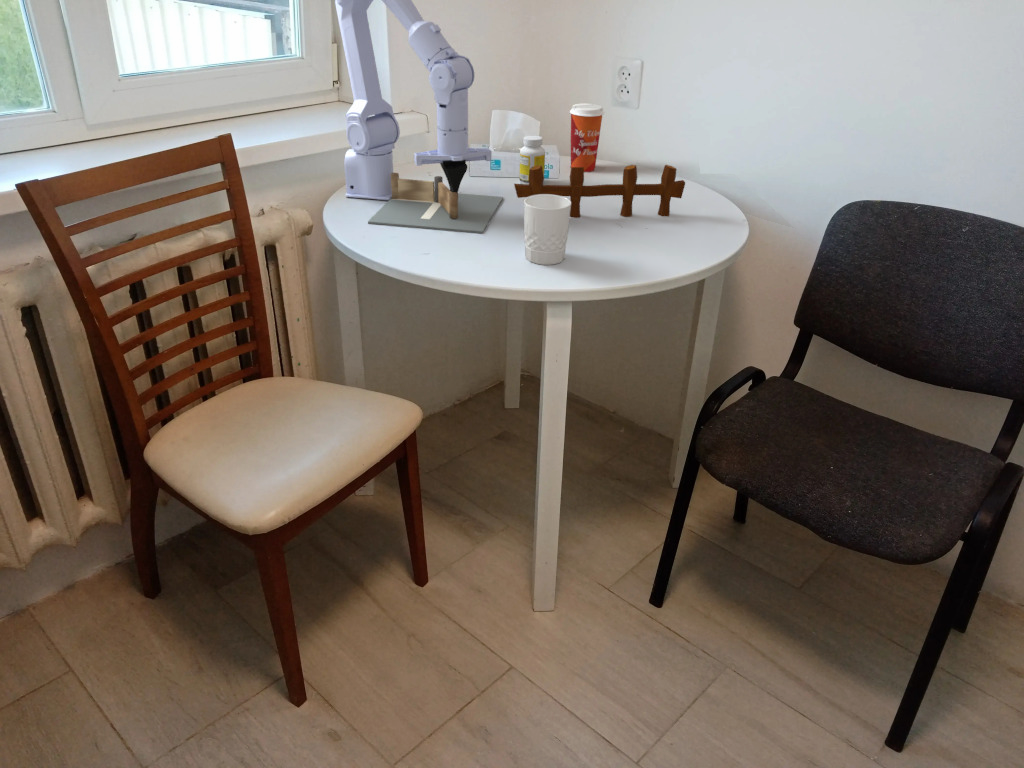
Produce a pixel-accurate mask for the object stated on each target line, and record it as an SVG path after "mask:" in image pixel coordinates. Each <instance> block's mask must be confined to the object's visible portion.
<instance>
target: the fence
mask: <svg viewBox="0 0 1024 768" xmlns="http://www.w3.org/2000/svg"><path fill="white" fill-rule="evenodd" d="M637 168H638V167H637V165H635V164H630V165H627V166H625V167H624V169H623V173H622V183H621V184H620V183H616V184H612V183H610V184H608V183H607V184H595V185H584V182H585V172H584V167H571V166H570V174H569V184H564V185H563V184H544V183H543V180H544V181H545V175H544V176H543V169H542V166H539V165H537V166H534V167H531V168H530V169H529V185H528V184H521V183H513V186H514V189H515V193H516V197H517V198H518V199H520V198H521V199H522V198H527V197H529V196H532V195H539V194H551V195H558V196H562V197H569V198H570V199H569V200H570V201H571V211H570V218H574V219H577V218H580V217H581V200H582V199H581V198H583V197H584V198H585V197H587V198H588V197H589V198H591V197H592V198H593V197H604V196H609V197H610V196H622V203H621V204H622V205H621V208H620V216H621V217H623V218H631V217H632V216H633V200H634V196H660V201H659V202H660V203H659V208H658V210H657V211H658V212H657V216H660V217H669V216H670V214H671V213H670V212H671V209H670V208H671V200H672V199H671V198H676V199H682V197H683V193H684V189H685V185H686V181H684V180H683V179H682V180H676V178H677V177H676V176H677V168H676V167H674V166H673V165H669V164H665V165H664V167H663V171H662V173H661V177H660V183H638V182H637V181H638V169H637Z"/></svg>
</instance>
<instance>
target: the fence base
mask: <svg viewBox="0 0 1024 768" xmlns="http://www.w3.org/2000/svg"><path fill="white" fill-rule="evenodd" d="M443 181H444V180H443V176H441V175H436V176H434V179H433V180H421V179H408V178H400V174H399V172H393V173H391V190H392V199H405V200H418V201H430V202H434V201H435V202H436V203H439V201H438V183H439V182H442V183H443ZM443 184H444V183H443ZM434 191H435V195H434Z"/></svg>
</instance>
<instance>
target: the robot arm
mask: <svg viewBox="0 0 1024 768" xmlns="http://www.w3.org/2000/svg"><path fill="white" fill-rule="evenodd" d="M373 1H374V0H334V2H335V9H336V15H337V19H338V26H339V31H340V34H341V35H340V36H341V40H342V46H343V51H344V55H345V61H346V66H347V71H348V76H349V81H350V86H351V92H352V96H353V97H352V98H353V103H352V105H351V106H350V108H349V109H348V111H347V112H346V114H345V118H346V130H345V133H346V140H347V143H348V144H349V146H350V147H351V148H349V149H347V151H346V153H345V156H344V161H343V162H344V164H343V165H344V166H343V167H344V178H345V191H346V193H345V197H346V198H358V199H368V200H369V199H371V200H380V201H381V200H382V201H389V200H390V199H391V198H392V190H391V173H394V157H393V156H394V155H393V150H394V149H395V148H396V147H395V146H396V145H395V143H397V142H398V140H399V138H400V134H401V129H400V125H399V122H398V121H397V119H396V116H395V114H394V110H393V106H392V105H391V104H390V103H389V102H388V101H386V100H385V99H383V96H382V91H381V87H380V86H381V85H380V80H379V74H378V68H377V62H376V57H375V52H374V47H373V46H374V45H373V41H372V35H371V29H370V23H369V18H368V12H367V11H368V9H369V7H371V4H372V3H373ZM381 1H382V2H383V3H384V5H385V6H386V8H388V9H389V11H390V12H391V13H392V14H393V16H394V17H395V18H396V19H397V21H399V22H400V24H401V26H402V27H404V29H405V30H406V32H408V39H407V41H408V44H409V46H410V47H411V48H412V50H413V51H414V53H415V54H416V55H417V57H418V59H419V60H420V61H421V63H422V64H423V65H424V67H425V68H426V69H427V71H428V72H429V75H428V81H429V85H430V88H431V89H432V91H433V94H434V97H433V98H434V100H435V104H436V126H437V127H436V130H437V131H436V132H437V133H436V134H437V136H436V138H437V149H434V150H433V149H432V150H427V151H426V150H425V151H420V152H414V153H413V159H414V161H413V163H414V164H415V166H417V167H418V166H423V165H431V164H440V167H441V169H442V171H443V173H444V175H445V178H446V180H447V183H448V186H449V190H450V191H451V192H456V193H459V189H460V185H461V183H462V180H463V178H464V176H465V174H466V172H467V171H468V164H467V162H476V161H477V162H478V161H479V162H480V161H486V162H490V161H492V155H493V154H492V150H491V149H490V148H487V147H484V148H481V147H478V148H476V147H475V148H474V147H469V88H471V87H472V85H473V83H474V80H475V70H474V66H473V65H472V63H471V60H470V58H468V57H467V56H465V55H462V54H460V53H458V52H457V51H456V50H455V49H454V48H453V47H452V46H451V45H450V43H449V41H448V40H447V39H446V38H445V37H444V35H443V34H442V32H441V31H442V28H440V26H439V25H438V24H435V23H434V22H433V21H428V20H425V19H423V16H422V15H421V13H420V12H419V10H418V8H417V7H416V6H415V3H414V2H413V1H412V0H381Z"/></svg>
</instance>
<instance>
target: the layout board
mask: <svg viewBox="0 0 1024 768" xmlns="http://www.w3.org/2000/svg"><path fill="white" fill-rule="evenodd" d="M434 195H435V190H434ZM503 199H504V196H497V195H487V194H486V195H485V194H484V195H483V194H473V193H461V192H458V218H450V215H449V213H448V212H447V211H446V210H445V209H444V208H443V207H442V206H441V204H440V203H436V202H435V201H434V202H430V201H418V200H405V199H392V198H391V199H390V200H387V202H385V204H384V205H382V207H381V208H379V210H378V211H376V212H375V214H373V216H371V218H369V219H368V220H367V224H369V225H370V224H372V225H379V226H380V225H382V226H391V227H392V226H393V227H404V228H414V229H415V228H416V229H424V230H425V229H427V230H439V231H449V232H459V233H471V234H472V233H473V234H481V235H482V234H483V233H484V232H485V231H486V228H487V227H488V226H489V223H490V222H491V220H492V219H493V217H494V215H495V213H496V212H497V209H498V208H499V206H500V205H501V203H502V202H503Z"/></svg>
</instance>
